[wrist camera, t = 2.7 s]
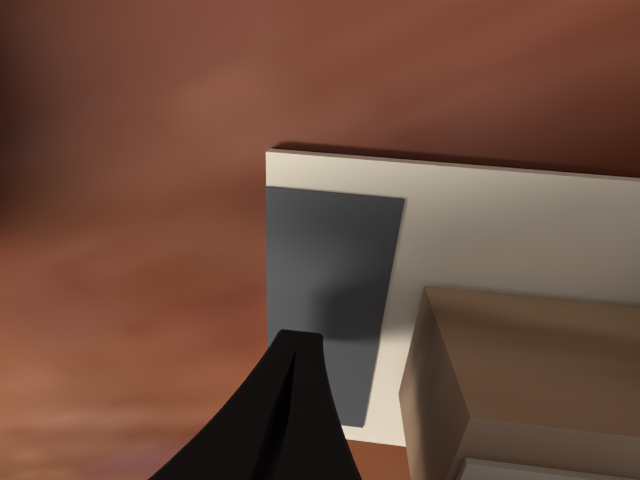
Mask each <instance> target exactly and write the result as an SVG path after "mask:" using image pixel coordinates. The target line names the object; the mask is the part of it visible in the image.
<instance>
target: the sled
mask: <svg viewBox="0 0 640 480" xmlns="http://www.w3.org/2000/svg"><path fill="white" fill-rule="evenodd" d="M398 395H399V402H400V408H401V415H402V422H403V429H404V436H405V442H406V449H407V456H408V463H409V469H410V476H411V480H640V308H639V307H629V306H619V305H609V304H599V303H589V302H579V301H569V300H559V299H550V298H540V297H530V296H520V295H510V294H500V293H490V292H480V291H470V290H460V289H450V288H440V287H430V286H424V289H423V293H422V297H421V302H420V306H419V310H418V314H417V318H416V322H415V327H414V331H413V335H412V339H411V343H410V347H409V352H408V356H407V360H406V364H405V368H404V372H403V377H402V381H401V385H400V389H399V393H398Z"/></svg>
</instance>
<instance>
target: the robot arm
mask: <svg viewBox="0 0 640 480" xmlns="http://www.w3.org/2000/svg"><path fill="white" fill-rule="evenodd" d="M148 480H362V479H361V476H360V474H359V471H358V469H357V467H356V464H355V462H354V459H353V457H352V454H351V451H350V449H349V446H348V443H347V441H346V438H345V435H344V432H343V429H342V426H341V423H340V420H339V417H338V414H337V410H336V407H335V404H334V400H333V396H332V392H331V388H330V384H329V380H328V376H327V371H326V365H325V359H324V350H323V336H322V335H321V333H313V332H304V331H295V330H285V329H281V330H280V331H278V333H277V335H276V337H275V338H274V340H273V342H272V343H271V345H270V346H269V348H268V349H267V351H266V352H265V354H264V355H263V357H262V358H261V360H260V361H259V362H258V364H257V365H256V366H255V368H254V369H253V370H252V372H251V373H250V374H249V376H248V377H247V378H246V380H245V381H244V382H243V383H242V385H241V386H240V387H239V388H238V389H237V391H236V392H235V393H234V394H233V395H232V397H231V398H230V399H229V400H228V401H227V402H226V404H225V405H224V406H223V407H222V408H221V409H220V410H219V412H218V413H217V414H216V415H215V416H214V417H213V418H212V419H211V420H210V421H209V422H208V423H207V424H206V425H205V427H204V428H203V429H202V430H201V431H200V432H199V433H198V434H197V435H196V436H195V437H194V438H193V439H192V440H191V441H190V442H189V443H187V444H186V445H185V446H184V447H183V448H182V449H181V450H180V451H179V452H178V453H177V454H176V455H175V456H174V457H173V458H172V459H171V460H170V461H168V462H167V463H166V464H165V465H164V466H163V467H162V468H161V469H160V470H158V471H157V472H156V473H155V474H154V475H153V476H152V477H150V478H149V479H148Z"/></svg>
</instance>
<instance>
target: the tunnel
mask: <svg viewBox="0 0 640 480" xmlns="http://www.w3.org/2000/svg"><path fill="white" fill-rule="evenodd" d="M265 189H266V273H267V349H268V348H269V346H270V345H271V343H272V342H273V340H274V338H275V337H276V335H277V333H278V331H280V330H281V329H285V330H295V331H304V332H313V333H321V335H322V336H323V350H324V359H325V365H326V371H327V376H328V380H329V384H330V388H331V392H332V396H333V400H334V404H335V407H336V410H337V414H338V417H339V420H340V423H341V426H342V429H343V432H344V435H345V438H346V439H350V440H358V441H366V442H374V443H382V444H390V445H398V446H406V442H405V436H404V429H403V422H402V415H401V408H400V402H399V395H398V393H399V389H400V385H401V381H402V377H403V372H404V368H405V364H406V360H407V356H408V352H409V347H410V343H411V339H412V335H413V331H414V327H415V322H416V318H417V314H418V310H419V306H420V302H421V297H422V293H423V289H424V286H430V287H440V288H450V289H460V290H470V291H480V292H490V293H500V294H510V295H520V296H530V297H540V298H550V299H559V300H569V301H579V302H589V303H599V304H609V305H619V306H629V307H639V308H640V178H632V177H619V176H607V175H594V174H582V173H569V172H557V171H544V170H532V169H519V168H507V167H494V166H482V165H469V164H457V163H444V162H432V161H420V160H407V159H395V158H382V157H370V156H357V155H345V154H332V153H320V152H307V151H295V150H282V149H269V150H267V151H266V187H265Z"/></svg>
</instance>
